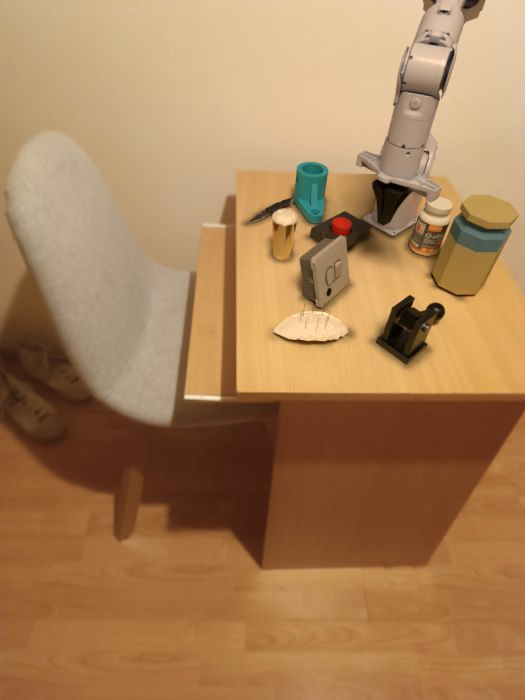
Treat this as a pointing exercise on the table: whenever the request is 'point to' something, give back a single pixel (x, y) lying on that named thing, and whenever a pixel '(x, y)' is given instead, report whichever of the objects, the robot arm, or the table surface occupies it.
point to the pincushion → (311, 326)
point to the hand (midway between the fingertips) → (383, 222)
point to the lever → (420, 314)
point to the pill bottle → (431, 227)
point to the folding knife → (271, 209)
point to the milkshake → (283, 232)
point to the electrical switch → (325, 270)
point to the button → (341, 226)
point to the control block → (356, 234)
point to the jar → (474, 244)
